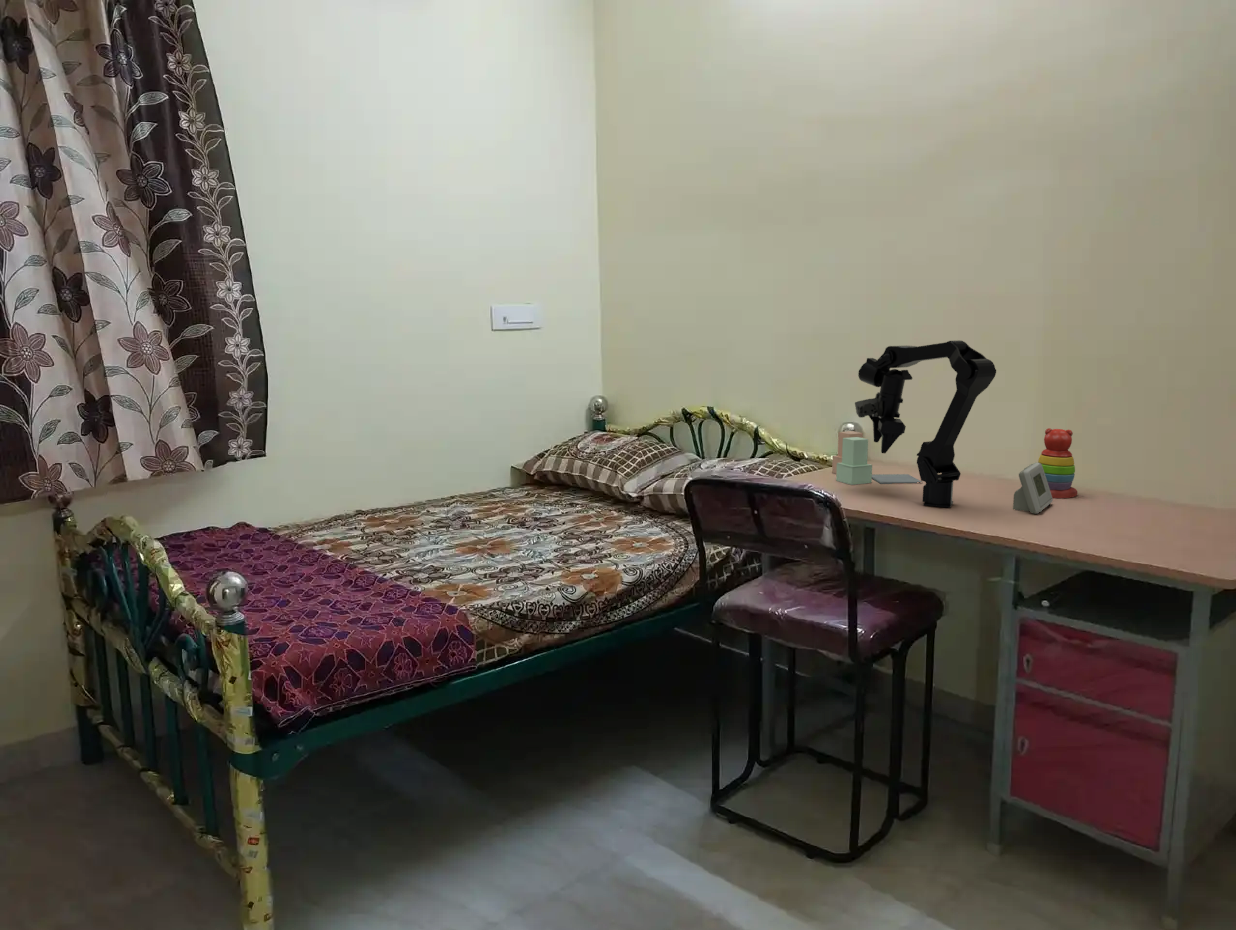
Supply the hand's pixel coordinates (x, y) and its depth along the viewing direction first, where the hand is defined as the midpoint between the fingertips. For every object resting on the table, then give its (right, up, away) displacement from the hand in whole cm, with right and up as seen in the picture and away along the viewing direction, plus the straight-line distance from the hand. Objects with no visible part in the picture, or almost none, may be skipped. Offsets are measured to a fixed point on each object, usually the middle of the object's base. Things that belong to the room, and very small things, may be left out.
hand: (879, 447), depth 253 cm
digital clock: (+33, -16, -20) cm, 42 cm away
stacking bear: (+45, -13, -4) cm, 47 cm away
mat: (+9, -9, +18) cm, 22 cm away
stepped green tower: (-3, -10, +15) cm, 18 cm away
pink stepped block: (-2, -7, +27) cm, 28 cm away
